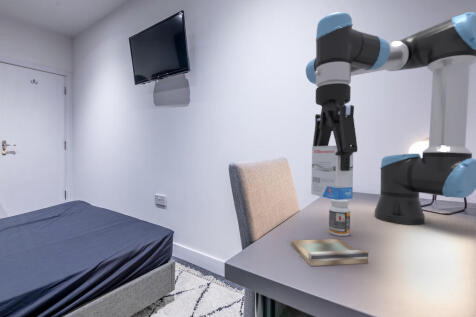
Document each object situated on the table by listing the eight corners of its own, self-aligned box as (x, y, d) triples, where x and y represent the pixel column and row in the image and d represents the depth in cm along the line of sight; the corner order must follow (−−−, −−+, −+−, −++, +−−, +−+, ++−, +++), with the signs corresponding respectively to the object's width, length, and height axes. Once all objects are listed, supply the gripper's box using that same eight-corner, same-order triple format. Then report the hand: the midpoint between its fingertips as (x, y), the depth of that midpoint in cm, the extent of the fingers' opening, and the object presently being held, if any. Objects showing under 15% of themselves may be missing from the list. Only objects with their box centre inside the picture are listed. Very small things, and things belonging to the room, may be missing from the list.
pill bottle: (352, 237, 69) (352, 202, 68) (330, 235, 70) (331, 201, 70) (347, 231, 74) (347, 198, 74) (327, 229, 75) (327, 197, 75)
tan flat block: (338, 242, 65) (338, 233, 65) (368, 263, 53) (368, 251, 52) (291, 244, 63) (291, 234, 63) (310, 266, 51) (310, 254, 51)
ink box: (353, 199, 54) (354, 145, 54) (336, 200, 52) (337, 145, 52) (326, 192, 62) (326, 146, 62) (310, 194, 60) (311, 146, 60)
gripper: (300, 96, 67) (299, 178, 68) (341, 69, 45) (339, 190, 46) (326, 97, 68) (325, 178, 68) (380, 71, 46) (377, 190, 46)
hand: (331, 183), depth 57 cm, fingers closed on ink box, 9 cm apart
